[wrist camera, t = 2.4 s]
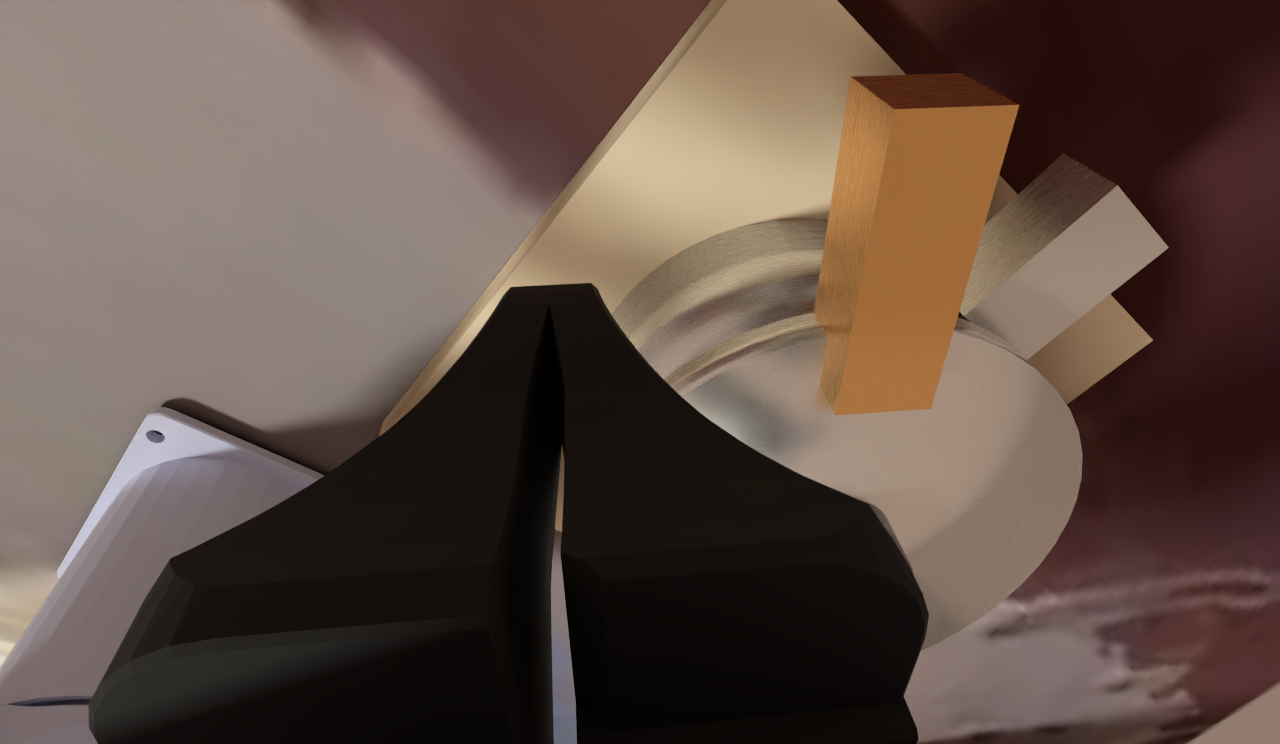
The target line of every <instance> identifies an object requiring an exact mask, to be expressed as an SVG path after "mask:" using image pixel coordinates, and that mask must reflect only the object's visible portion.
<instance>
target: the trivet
mask: <svg viewBox="0 0 1280 744" xmlns="http://www.w3.org/2000/svg"><path fill="white" fill-rule="evenodd" d="M884 75H906V74H905V73H904V72H903V71H902V70H901V69H900V67H899V66H898V65H897V64H896V63H895V62H894V61H893V60H892V59H891V58H890V57H889V56H888V55H887V53H886V52H885V51H884V50H883V49H882V48H881V47H880V46H879V45H878V44H877V43H876V42H875V41H874V39H873V38H872V37H871V36H870V35H869V34H868V33H867V32H866V31H865V30H864V29H863V28H862V27H861V26H860V24H859V23H858V22H857V21H856V20H855V19H854V18H853V17H852V16H851V15H850V14H849V13H848V12H847V10H846V9H845V8H844V7H843V6H842V5H841V4H840V3H839V2H838V1H837V0H711V2H710V3H709V4H708V5H707V7H706V8H705V9H704V11H703V12H702V13H701V14H700V16H699V17H698V18H697V19H696V21H695V22H694V23H693V25H692V26H691V27H690V28H689V30H688V31H687V32H686V34H685V35H684V36H683V37H682V39H681V40H680V41H679V43H678V44H677V45H676V46H675V48H674V49H673V50H672V52H671V53H670V54H669V55H668V57H667V58H666V59H665V61H664V62H663V63H662V64H661V66H660V67H659V68H658V70H657V71H656V72H655V73H654V75H653V76H652V77H651V78H650V80H649V81H648V82H647V84H646V85H645V86H644V87H643V89H642V90H641V91H640V93H639V94H638V95H637V96H636V98H635V99H634V100H633V102H632V103H631V104H630V105H629V107H628V108H627V109H626V111H625V112H624V113H623V114H622V116H621V117H620V118H619V120H618V121H617V122H616V123H615V125H614V126H613V127H612V129H611V130H610V131H609V132H608V134H607V135H606V136H605V138H604V139H603V140H602V141H601V143H600V144H599V145H598V146H597V148H596V149H595V150H594V152H593V153H592V154H591V155H590V157H589V158H588V159H587V161H586V162H585V163H584V164H583V166H582V167H581V168H580V170H579V171H578V172H577V173H576V175H575V176H574V177H573V179H572V180H571V181H570V182H569V184H568V185H567V186H566V188H565V189H564V190H563V191H562V193H561V194H560V195H559V197H558V198H557V199H556V200H555V202H554V203H553V204H552V205H551V207H550V208H549V209H548V211H547V212H546V213H545V214H544V216H543V217H542V218H541V220H540V221H539V222H538V223H537V225H536V226H535V227H534V229H533V230H532V231H531V232H530V234H529V235H528V236H527V238H526V239H525V240H524V241H523V243H522V244H521V245H520V247H519V248H518V249H517V250H516V252H515V253H514V254H513V256H512V257H511V258H510V259H509V261H508V262H507V263H506V264H505V266H504V267H503V268H502V270H501V271H500V272H499V273H498V275H497V276H496V277H495V279H494V280H493V281H492V282H491V284H490V285H489V286H488V288H487V289H486V290H485V291H484V293H483V294H482V295H481V297H480V298H479V299H478V300H477V302H476V303H475V304H474V306H473V307H472V308H471V309H470V311H469V312H468V313H467V315H466V316H465V317H464V318H463V320H462V321H461V322H460V323H459V325H458V326H457V327H456V329H455V330H454V331H453V332H452V334H451V335H450V336H449V338H448V339H447V340H446V341H445V343H444V344H443V345H442V347H441V348H440V349H439V350H438V352H437V353H436V354H435V356H434V357H433V358H432V359H431V361H430V362H429V363H428V365H427V366H426V367H425V368H424V370H423V371H422V372H421V374H420V375H419V376H418V377H417V379H416V380H415V381H414V382H413V384H412V385H411V386H410V388H409V389H408V390H407V391H406V393H405V394H404V395H403V397H402V398H401V399H400V400H399V402H398V403H397V404H396V406H395V407H394V408H393V409H392V411H391V412H390V413H389V415H388V416H387V417H386V418H385V420H384V421H383V423H382V427H381V430H380V433H379V436H380V435H382V434H383V433H385V432H386V431H387V430H388V429H389V428H391V427H392V426H393V425H394V424H395V423H397V422H398V421H399V420H400V419H401V418H402V417H403V416H405V415H406V414H407V413H408V412H409V411H410V410H411V409H412V408H413V407H414V406H416V405H417V404H418V403H419V402H420V401H421V400H422V399H423V398H424V397H425V396H426V395H427V394H428V392H429V391H430V390H431V389H432V388H433V387H434V386H435V385H436V384H437V383H438V381H439V380H440V379H441V378H442V377H443V376H444V375H445V374H446V372H447V371H448V370H449V369H450V368H451V367H452V366H453V365H454V363H455V362H456V361H457V360H458V359H459V357H460V356H461V355H462V354H463V352H464V351H465V350H466V348H467V347H468V346H469V344H470V343H471V342H472V341H473V339H474V338H475V337H476V335H477V334H478V333H479V331H480V330H481V329H482V327H483V326H484V324H485V323H486V321H487V320H488V319H489V317H490V316H491V314H492V313H493V311H494V310H495V308H496V306H497V305H498V303H499V302H500V300H501V298H502V297H503V295H504V294H505V293H506V292H507V291H508V289H509V288H510V287H519V286H538V285H557V284H577V283H592V284H593V285H594V286H595V287H596V288H597V289H598V290H599V293H600V295H601V297H602V299H603V301H604V303H605V305H606V307H607V308H608V310H609V312H610V313H611V315H612V313H613V312H614V311H615V309H616V308H617V307H618V306H619V304H620V303H621V302H622V301H623V299H624V298H625V297H626V295H627V294H628V293H629V292H630V291H631V290H632V289H634V288H635V287H636V286H637V285H638V284H639V283H640V282H641V281H642V280H643V279H644V278H645V277H646V276H647V275H648V274H650V273H651V272H652V271H654V270H655V269H656V268H657V267H659V266H660V265H661V264H663V263H664V262H665V261H667V260H668V259H670V258H671V257H673V256H675V255H676V254H678V253H680V252H681V251H683V250H685V249H686V248H688V247H690V246H692V245H694V244H696V243H698V242H700V241H703V240H705V239H707V238H709V237H712V236H714V235H716V234H719V233H722V232H725V231H728V230H731V229H735V228H738V227H741V226H744V225H749V224H754V223H759V222H764V221H770V220H778V219H793V218H810V219H827V220H828V218H829V212H830V205H831V199H832V193H833V186H834V180H835V173H836V167H837V160H838V154H839V148H840V141H841V135H842V128H843V122H844V115H845V109H846V103H847V96H848V90H849V83H850V77H852V76H884ZM1017 195H1018V194H1017V193H1016V192H1015V191H1014V190H1013V189H1012V188H1011V187H1010V186H1009V185H1008V184H1007V183H1006V181H1005V180H1004V179H1003V178H1002V177H1001V176H1000V175H999V177H998V180H997V184H996V187H995V191H994V194H993V197H992V201H991V204H990V208H989V211H988V215H987V218H986V221H985V224H986V223H987V222H988V221H989V220H990V219H992V218H993V217H994V216H995V215H996V214H997V213H998V212H999V211H1000V210H1002V209H1003V208H1004V207H1005V206H1006V205H1007V204H1008V203H1009V202H1010V201H1012V200H1013V199H1014V198H1015V197H1016V196H1017ZM1152 341H1153V340H1152V338H1151V337H1150V336H1149V335H1148V334H1147V333H1146V332H1145V331H1144V330H1143V329H1142V328H1141V327H1140V326H1139V324H1138V323H1137V322H1136V321H1135V320H1134V319H1133V318H1132V317H1131V316H1130V315H1129V314H1128V313H1127V312H1126V310H1125V309H1124V308H1123V307H1122V306H1121V305H1120V304H1119V303H1118V302H1117V301H1116V300H1115V299H1114V298H1113V297H1112V295H1111V294H1110V295H1108V296H1107V297H1106V298H1105V299H1103V300H1102V301H1101V302H1099V303H1098V304H1097V305H1096V306H1094V307H1093V308H1092V309H1091V310H1089V311H1088V312H1087V313H1086V314H1084V315H1083V316H1082V317H1081V318H1079V319H1078V320H1077V321H1075V322H1074V323H1073V324H1072V325H1070V326H1069V327H1068V328H1067V329H1065V330H1064V331H1063V332H1062V333H1060V334H1059V335H1058V336H1056V337H1055V338H1054V339H1053V340H1051V341H1050V342H1049V343H1048V344H1046V345H1045V346H1044V347H1043V348H1041V349H1040V350H1039V351H1038V352H1036V353H1035V354H1034V355H1032V356H1031V357H1030V358H1029V359H1027V360H1028V361H1029V362H1031V363H1032V364H1033V365H1034V367H1035V368H1036V369H1037V370H1038V371H1039V372H1040V373H1041V374H1042V375H1043V376H1044V377H1045V378H1046V379H1047V380H1048V381H1049V382H1050V384H1051V385H1052V386H1053V387H1054V388H1055V389H1056V390H1057V391H1058V393H1059V394H1060V396H1061V397H1062V399H1063V400H1064V402H1065V403H1066V405H1067V404H1068V403H1070V402H1071V401H1072V400H1074V399H1075V398H1076V397H1078V396H1079V395H1080V394H1082V393H1083V392H1084V391H1086V390H1087V389H1088V388H1090V387H1091V386H1092V385H1094V384H1095V383H1096V382H1098V381H1099V380H1100V379H1102V378H1103V377H1105V376H1106V375H1107V374H1109V373H1110V372H1111V371H1113V370H1114V369H1115V368H1117V367H1118V366H1119V365H1121V364H1122V363H1123V362H1125V361H1126V360H1127V359H1129V358H1130V357H1131V356H1133V355H1134V354H1135V353H1137V352H1138V351H1139V350H1141V349H1142V348H1144V347H1145V346H1146V345H1148V344H1149V343H1150V342H1152ZM563 498H564V456H563V449H562V451H561V463H560V475H559V486H558V498H557V509H556V520H555V529H556V530H558V531H560V532H562V519H563Z"/></svg>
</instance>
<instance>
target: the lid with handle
mask: <svg viewBox="0 0 1280 744" xmlns="http://www.w3.org/2000/svg"><path fill="white" fill-rule="evenodd" d="M1018 108H1019V104H1017V103H1015V102H1013V101H1011V100H1009V99H1008V98H1006V97H1004V96H1002V95H1000V94H998V93H996V92H995V91H993V90H991V89H989V88H987V87H985V86H983V85H982V84H980V83H978V82H976V81H974V80H972V79H970V78H969V77H967V76H965V75H963V74H961V73H948V74H916V75H884V76H852V77H850V83H849V90H848V96H847V103H846V109H845V115H844V122H843V128H842V135H841V141H840V148H839V154H838V160H837V167H836V173H835V180H834V186H833V193H832V199H831V205H830V212H829V218H828V225H827V231H826V238H825V244H824V250H823V257H822V263H821V270H820V276H819V283H818V289H817V295H816V302H815V308H814V312H813V313H809V314H804V315H800V316H796V317H791V318H787V319H783V320H780V321H777V322H774V323H771V324H768V325H765V326H762V327H759V328H757V329H754V330H751V331H748V332H745V333H743V334H741V335H739V336H737V337H735V338H733V339H730V340H728V341H726V342H724V343H722V344H720V345H717V346H715V347H713V348H711V349H710V350H708V351H706V352H705V353H703V354H701V355H700V356H698V357H696V358H695V359H693V360H691V361H690V362H688V363H686V364H685V365H683V366H681V367H680V368H679V369H677V370H676V371H675V372H673V373H672V374H671V375H670V376H668V377H667V378H666V379H664V380H665V381H666V382H667V383H668V384H669V385H670V386H671V387H672V388H673V389H674V390H675V391H676V392H677V393H678V394H679V395H680V396H681V397H682V398H684V399H685V400H686V401H687V402H688V403H689V404H691V405H692V406H693V407H694V408H695V409H696V410H698V411H699V412H700V413H701V414H702V415H704V416H705V417H706V418H708V419H709V420H710V421H712V422H713V423H715V424H716V425H718V426H719V427H721V428H722V429H724V430H725V431H727V432H728V433H729V434H731V435H732V436H734V437H735V438H737V439H738V440H740V441H741V442H743V443H745V444H746V445H748V446H750V447H751V448H753V449H755V450H756V451H758V452H760V453H761V454H763V455H765V456H767V457H769V458H770V459H772V460H774V461H776V462H778V463H780V464H782V465H783V466H785V467H787V468H789V469H791V470H793V471H795V472H797V473H799V474H801V475H803V476H805V477H807V478H809V479H812V480H814V481H816V482H819V483H821V484H823V485H826V486H828V487H830V488H833V489H835V490H837V491H840V492H842V493H844V494H847V495H849V496H851V497H854V498H856V499H858V500H861V501H863V502H865V503H868V504H869V505H870V506H871V508H872V509H873V511H874V512H875V514H876V515H877V517H878V518H879V520H880V521H881V523H882V524H883V526H884V527H885V529H886V530H887V531H888V533H889V534H890V536H891V537H892V539H893V540H894V542H895V544H896V545H897V547H898V548H899V550H900V552H901V553H902V555H903V556H904V558H905V560H906V561H907V563H908V565H909V567H910V569H911V571H912V573H913V575H914V577H915V579H916V581H917V583H918V585H919V587H920V589H921V591H922V593H923V596H924V599H925V603H926V606H927V610H928V613H929V619H928V625H927V631H926V637H925V640H924V643H923V645H922V648H921V650H923V649H925V648H928V647H930V646H932V645H934V644H936V643H938V642H940V641H942V640H944V639H946V638H947V637H949V636H951V635H953V634H955V633H957V632H958V631H960V630H962V629H963V628H965V627H966V626H968V625H970V624H971V623H973V622H974V621H976V620H978V619H979V618H981V617H982V616H983V615H985V614H986V613H987V612H989V611H990V610H991V609H993V608H994V607H995V606H997V605H998V604H1000V603H1001V602H1002V601H1003V600H1004V599H1006V598H1007V597H1008V596H1009V595H1010V594H1011V593H1012V592H1013V591H1015V590H1016V589H1017V588H1018V587H1019V586H1020V585H1021V584H1022V583H1023V582H1024V581H1025V580H1026V579H1027V578H1028V577H1029V576H1030V575H1031V574H1032V573H1033V572H1034V570H1035V569H1036V568H1037V567H1038V566H1039V565H1040V564H1041V563H1042V561H1043V560H1044V559H1045V557H1046V556H1047V554H1048V553H1049V552H1050V550H1051V549H1052V548H1053V546H1054V545H1055V544H1056V542H1057V540H1058V538H1059V537H1060V535H1061V533H1062V531H1063V530H1064V528H1065V526H1066V524H1067V523H1068V520H1069V518H1070V515H1071V513H1072V510H1073V508H1074V505H1075V503H1076V500H1077V496H1078V492H1079V487H1080V483H1081V478H1082V457H1083V454H1082V448H1081V442H1080V436H1079V431H1078V428H1077V426H1076V423H1075V421H1074V418H1073V416H1072V413H1071V411H1070V409H1069V408H1068V406H1067V405H1066V403H1065V402H1064V400H1063V399H1062V397H1061V396H1060V394H1059V393H1058V391H1057V390H1056V389H1055V388H1054V387H1053V386H1052V385H1051V384H1050V382H1049V381H1048V380H1047V379H1046V378H1045V377H1044V376H1043V375H1042V374H1041V373H1040V372H1039V371H1038V370H1037V369H1036V368H1035V367H1034V365H1033V364H1032V363H1031V362H1029V361H1028V360H1027V359H1026V358H1025V357H1024V356H1023V355H1022V354H1021V353H1020V352H1019V351H1018V350H1017V349H1016V348H1015V347H1014V346H1012V345H1011V344H1009V343H1008V342H1006V341H1005V340H1003V339H1002V338H1000V337H999V336H997V335H996V334H994V333H993V332H991V331H989V330H987V329H985V328H982V327H980V326H978V325H975V324H973V323H971V322H969V321H966V320H964V319H961V318H958V314H959V311H960V308H961V304H962V301H963V297H964V294H965V290H966V287H967V283H968V280H969V277H970V273H971V270H972V266H973V263H974V259H975V256H976V252H977V249H978V246H979V242H980V239H981V235H982V232H983V228H984V225H985V221H986V218H987V215H988V211H989V208H990V204H991V201H992V197H993V194H994V191H995V187H996V184H997V180H998V177H999V173H1000V170H1001V166H1002V163H1003V160H1004V156H1005V153H1006V149H1007V146H1008V142H1009V139H1010V135H1011V132H1012V129H1013V125H1014V122H1015V118H1016V115H1017V111H1018Z"/></svg>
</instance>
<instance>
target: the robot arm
mask: <svg viewBox="0 0 1280 744" xmlns="http://www.w3.org/2000/svg"><path fill="white" fill-rule="evenodd" d="M153 430H155V431H159V432H160V433H162V434H163V435H160V434H157V433H156V432H154V431H153ZM562 449H563V456H564V498H563V519H562V539H561V561H562V571H563V580H564V590H565V600H566V610H567V619H568V629H569V639H570V649H571V658H572V668H573V678H574V688H575V697H576V720H577V744H916V743H917V741H918V733H917V728H916V725H915V723H914V721H913V718H912V716H911V713H910V711H909V708H908V706H907V704H906V701H905V699H904V693H905V691H906V688H907V685H908V683H909V680H910V677H911V675H912V672H913V669H914V667H915V664H916V661H917V659H918V656H919V653H920V651H921V648H922V645H923V643H924V640H925V637H926V631H927V625H928V619H929V613H928V610H927V606H926V603H925V599H924V596H923V593H922V591H921V589H920V587H919V585H918V583H917V581H916V579H915V577H914V575H913V573H912V571H911V569H910V567H909V565H908V563H907V561H906V560H905V558H904V556H903V555H902V553H901V552H900V550H899V548H898V547H897V545H896V544H895V542H894V540H893V539H892V537H891V536H890V534H889V533H888V531H887V530H886V529H885V527H884V526H883V524H882V523H881V521H880V520H879V518H878V517H877V515H876V514H875V512H874V511H873V509H872V508H871V506H870V505H869V504H868V503H865V502H863V501H861V500H858V499H856V498H854V497H851V496H849V495H847V494H844V493H842V492H840V491H837V490H835V489H833V488H830V487H828V486H826V485H823V484H821V483H819V482H816V481H814V480H812V479H809V478H807V477H805V476H803V475H801V474H799V473H797V472H795V471H793V470H791V469H789V468H787V467H785V466H783V465H782V464H780V463H778V462H776V461H774V460H772V459H770V458H769V457H767V456H765V455H763V454H761V453H760V452H758V451H756V450H755V449H753V448H751V447H750V446H748V445H746V444H745V443H743V442H741V441H740V440H738V439H737V438H735V437H734V436H732V435H731V434H729V433H728V432H727V431H725V430H724V429H722V428H721V427H719V426H718V425H716V424H715V423H713V422H712V421H710V420H709V419H708V418H706V417H705V416H704V415H702V414H701V413H700V412H699V411H698V410H696V409H695V408H694V407H693V406H692V405H691V404H689V403H688V402H687V401H686V400H685V399H684V398H682V397H681V396H680V395H679V394H678V393H677V392H676V391H675V390H674V389H673V388H672V387H671V386H670V385H669V384H668V383H667V382H666V381H665V380H664V379H663V378H662V377H661V376H660V375H659V374H658V373H657V372H656V371H655V370H654V369H653V367H652V366H651V365H650V364H649V363H648V362H647V361H646V360H645V358H644V357H643V356H642V355H641V354H640V353H639V351H638V350H637V349H636V348H635V346H634V345H633V344H632V342H631V341H630V340H629V339H628V337H627V336H626V335H625V333H624V332H623V331H622V329H621V328H620V327H619V325H618V324H617V322H616V321H615V319H614V318H613V316H612V315H611V313H610V312H609V310H608V308H607V307H606V305H605V303H604V301H603V299H602V297H601V295H600V293H599V290H598V289H597V288H596V287H595V286H594V285H593V284H592V283H577V284H557V285H538V286H519V287H510V288H509V289H508V291H507V292H506V293H505V294H504V295H503V297H502V298H501V300H500V302H499V303H498V305H497V306H496V308H495V310H494V311H493V313H492V314H491V316H490V317H489V319H488V320H487V321H486V323H485V324H484V326H483V327H482V329H481V330H480V331H479V333H478V334H477V335H476V337H475V338H474V339H473V341H472V342H471V343H470V344H469V346H468V347H467V348H466V350H465V351H464V352H463V354H462V355H461V356H460V357H459V359H458V360H457V361H456V362H455V363H454V365H453V366H452V367H451V368H450V369H449V370H448V371H447V372H446V374H445V375H444V376H443V377H442V378H441V379H440V380H439V381H438V383H437V384H436V385H435V386H434V387H433V388H432V389H431V390H430V391H429V392H428V394H427V395H426V396H425V397H424V398H423V399H422V400H421V401H420V402H419V403H418V404H417V405H416V406H414V407H413V408H412V409H411V410H410V411H409V412H408V413H407V414H406V415H405V416H403V417H402V418H401V419H400V420H399V421H398V422H397V423H395V424H394V425H393V426H392V427H391V428H389V429H388V430H387V431H386V432H385V433H383V434H382V435H380V436H379V437H378V438H376V439H375V440H374V441H372V442H371V443H370V444H368V445H367V446H366V447H364V448H363V449H362V450H360V451H359V452H358V453H356V454H355V455H353V456H352V457H351V458H349V459H348V460H347V461H345V462H344V463H343V464H341V465H340V466H338V467H337V468H335V469H334V470H333V471H331V472H329V473H328V474H326V475H322V474H320V473H318V472H316V471H313V470H311V469H309V468H306V467H304V466H302V465H299V464H297V463H295V462H292V461H290V460H288V459H286V458H283V457H281V456H279V455H276V454H274V453H272V452H269V451H267V450H265V449H262V448H260V447H258V446H256V445H253V444H251V443H249V442H246V441H244V440H242V439H239V438H237V437H235V436H233V435H230V434H228V433H226V432H223V431H221V430H219V429H216V428H214V427H212V426H209V425H207V424H205V423H203V422H200V421H198V420H196V419H193V418H191V417H189V416H186V415H184V414H182V413H179V412H177V411H175V410H173V409H169V408H166V407H157V408H154V409H152V410H151V411H150V412H149V413H148V415H147V416H146V418H145V419H144V421H143V423H142V424H141V426H140V428H139V430H138V431H137V433H136V435H135V437H134V438H133V440H132V442H131V444H130V445H129V447H128V449H127V450H126V452H125V454H124V456H123V457H122V459H121V461H120V463H119V464H118V466H117V468H116V470H115V471H114V473H113V475H112V477H111V478H110V480H109V482H108V484H107V485H106V487H105V489H104V491H103V492H102V494H101V496H100V498H99V499H98V501H97V503H96V504H95V506H94V508H93V510H92V511H91V513H90V515H89V517H88V518H87V520H86V522H85V524H84V525H83V527H82V529H81V531H80V532H79V534H78V536H77V538H76V539H75V541H74V543H73V545H72V546H71V548H70V550H69V551H68V553H67V555H66V557H65V558H64V560H63V562H62V564H61V565H60V567H59V569H58V571H57V576H58V578H59V581H58V582H57V584H56V585H55V587H54V588H53V590H52V591H51V593H50V594H49V596H48V597H47V599H46V600H45V601H44V603H43V604H42V606H41V607H40V609H39V610H38V612H37V613H36V615H35V616H34V618H33V619H32V621H31V622H30V624H29V625H28V627H27V628H26V630H25V631H24V633H23V634H22V636H21V637H20V638H19V640H18V641H17V643H16V644H15V646H14V647H13V649H12V650H11V652H10V653H9V655H8V656H7V658H6V659H5V661H4V662H3V664H2V665H1V667H0V744H554V739H553V695H552V644H551V569H552V554H553V543H554V532H555V520H556V509H557V498H558V486H559V475H560V463H561V451H562Z"/></svg>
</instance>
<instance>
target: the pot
mask: <svg viewBox="0 0 1280 744" xmlns="http://www.w3.org/2000/svg"><path fill="white" fill-rule="evenodd" d="M827 225H828V220H827V219H810V218H793V219H778V220H770V221H764V222H759V223H754V224H749V225H744V226H741V227H738V228H735V229H731V230H728V231H725V232H722V233H719V234H716V235H714V236H712V237H709V238H707V239H705V240H703V241H700V242H698V243H696V244H694V245H692V246H690V247H688V248H686V249H685V250H683V251H681V252H680V253H678V254H676V255H675V256H673V257H671V258H670V259H668V260H667V261H665V262H664V263H663V264H661V265H660V266H659V267H657V268H656V269H655V270H654V271H652V272H651V273H650V274H648V275H647V276H646V277H645V278H644V279H643V280H642V281H641V282H640V283H639V284H638V285H637V286H636V287H635V288H634V289H632V290H631V291H630V292H629V293H628V294H627V295H626V297H625V298H624V299H623V301H622V302H621V303H620V304H619V306H618V307H617V308H616V309H615V311H614V312H613V313H612V316H613V318H614V319H615V321H616V322H617V324H618V325H619V327H620V328H621V329H622V331H623V332H624V333H625V335H626V336H627V337H628V339H629V340H630V341H631V342H632V344H633V345H634V346H635V348H636V349H637V350H638V351H639V353H640V354H641V355H642V356H643V357H644V358H645V360H646V361H647V362H648V363H649V364H650V365H651V366H652V367H653V369H654V370H655V371H656V372H657V373H658V374H659V375H660V376H661V377H662V378H663V379H666V378H667V377H668V376H670V375H671V374H672V373H673V372H675V371H676V370H677V369H679V368H680V367H681V366H683V365H685V364H686V363H688V362H690V361H691V360H693V359H695V358H696V357H698V356H700V355H701V354H703V353H705V352H706V351H708V350H710V349H711V348H713V347H715V346H717V345H720V344H722V343H724V342H726V341H728V340H730V339H733V338H735V337H737V336H739V335H741V334H743V333H745V332H748V331H751V330H754V329H757V328H759V327H762V326H765V325H768V324H771V323H774V322H777V321H780V320H783V319H787V318H791V317H796V316H800V315H804V314H809V313H813V312H814V308H815V302H816V295H817V289H818V283H819V276H820V270H821V263H822V257H823V250H824V244H825V238H826V231H827ZM1168 248H1169V247H1168V246H1167V245H1166V244H1165V243H1164V241H1163V240H1162V239H1161V238H1160V236H1159V235H1158V234H1157V233H1156V232H1155V230H1154V229H1153V228H1152V227H1151V225H1150V224H1149V223H1148V222H1147V221H1146V219H1145V218H1144V217H1143V216H1142V214H1141V213H1140V212H1139V211H1138V210H1137V208H1136V207H1135V206H1134V205H1133V203H1132V202H1131V201H1130V200H1129V199H1128V197H1127V196H1126V195H1125V194H1124V193H1123V191H1122V190H1121V189H1120V188H1119V186H1118V185H1116V184H1115V183H1113V182H1111V181H1109V180H1108V179H1106V178H1104V177H1103V176H1101V175H1099V174H1098V173H1096V172H1094V171H1092V170H1091V169H1089V168H1087V167H1086V166H1084V165H1082V164H1080V163H1079V162H1077V161H1075V160H1074V159H1072V158H1070V157H1069V156H1067V155H1065V154H1063V155H1061V156H1060V157H1059V158H1058V159H1057V160H1056V161H1055V162H1054V163H1053V164H1051V165H1050V166H1049V167H1048V168H1047V169H1046V170H1045V171H1044V172H1043V173H1041V174H1040V175H1039V176H1038V177H1037V178H1036V179H1035V180H1034V181H1033V182H1031V183H1030V184H1029V185H1028V186H1027V187H1026V188H1025V189H1024V190H1023V191H1022V192H1020V193H1019V194H1018V195H1017V196H1016V197H1015V198H1014V199H1013V200H1012V201H1010V202H1009V203H1008V204H1007V205H1006V206H1005V207H1004V208H1003V209H1002V210H1000V211H999V212H998V213H997V214H996V215H995V216H994V217H993V218H992V219H990V220H989V221H988V222H987V223H986V224H985V225H984V228H983V232H982V235H981V239H980V242H979V246H978V249H977V252H976V256H975V259H974V263H973V266H972V270H971V273H970V277H969V280H968V283H967V287H966V290H965V294H964V297H963V301H962V304H961V308H960V311H959V314H958V318H961V319H964V320H966V321H969V322H971V323H973V324H975V325H978V326H980V327H982V328H985V329H987V330H989V331H991V332H993V333H994V334H996V335H997V336H999V337H1000V338H1002V339H1003V340H1005V341H1006V342H1008V343H1009V344H1011V345H1012V346H1014V347H1015V348H1016V349H1017V350H1018V351H1019V352H1020V353H1021V354H1022V355H1023V356H1024V357H1025V358H1026V359H1029V358H1030V357H1031V356H1032V355H1034V354H1035V353H1036V352H1038V351H1039V350H1040V349H1041V348H1043V347H1044V346H1045V345H1046V344H1048V343H1049V342H1050V341H1051V340H1053V339H1054V338H1055V337H1056V336H1058V335H1059V334H1060V333H1062V332H1063V331H1064V330H1065V329H1067V328H1068V327H1069V326H1070V325H1072V324H1073V323H1074V322H1075V321H1077V320H1078V319H1079V318H1081V317H1082V316H1083V315H1084V314H1086V313H1087V312H1088V311H1089V310H1091V309H1092V308H1093V307H1094V306H1096V305H1097V304H1098V303H1099V302H1101V301H1102V300H1103V299H1105V298H1106V297H1107V296H1108V295H1110V294H1111V293H1112V292H1113V291H1115V290H1116V289H1117V288H1118V287H1120V286H1121V285H1122V284H1123V283H1125V282H1126V281H1127V280H1129V279H1130V278H1131V277H1132V276H1134V275H1135V274H1136V273H1137V272H1139V271H1140V270H1141V269H1142V268H1144V267H1145V266H1146V265H1147V264H1149V263H1150V262H1151V261H1153V260H1154V259H1155V258H1156V257H1158V256H1159V255H1160V254H1161V253H1163V252H1164V251H1165V250H1166V249H1168Z"/></svg>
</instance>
